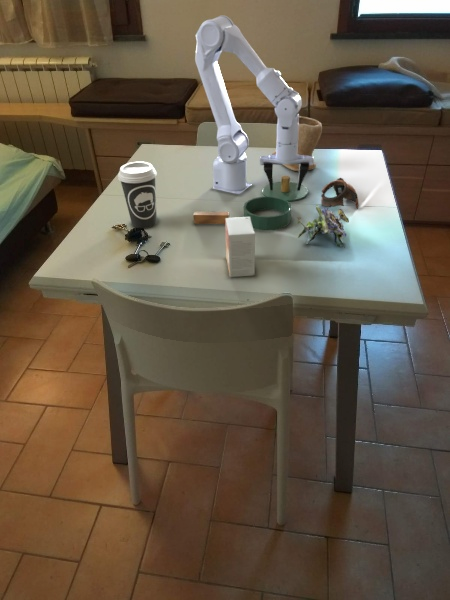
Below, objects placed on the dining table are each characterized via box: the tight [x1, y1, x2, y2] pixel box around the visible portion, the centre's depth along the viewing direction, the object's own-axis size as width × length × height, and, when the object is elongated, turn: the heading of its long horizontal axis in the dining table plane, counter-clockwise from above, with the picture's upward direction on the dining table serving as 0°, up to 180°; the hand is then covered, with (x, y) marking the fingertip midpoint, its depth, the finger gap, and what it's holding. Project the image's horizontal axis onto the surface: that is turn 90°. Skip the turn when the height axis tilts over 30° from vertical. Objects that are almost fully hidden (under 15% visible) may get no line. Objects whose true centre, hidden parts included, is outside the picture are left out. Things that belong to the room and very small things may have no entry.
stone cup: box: [271, 115, 323, 172], centre depth 151 cm, size 15×12×15 cm
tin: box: [242, 196, 293, 231], centre depth 124 cm, size 12×12×4 cm
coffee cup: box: [117, 161, 158, 229], centre depth 122 cm, size 10×10×15 cm
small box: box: [224, 216, 256, 278], centre depth 104 cm, size 8×6×10 cm
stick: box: [193, 211, 230, 225], centre depth 124 cm, size 9×2×3 cm, turn 85°
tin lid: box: [261, 175, 309, 203], centre depth 136 cm, size 13×13×5 cm
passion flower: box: [296, 204, 350, 248], centre depth 112 cm, size 11×11×12 cm
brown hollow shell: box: [320, 177, 359, 210], centre depth 129 cm, size 12×10×8 cm
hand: (285, 188), depth 137 cm, fingers open, 7 cm apart
